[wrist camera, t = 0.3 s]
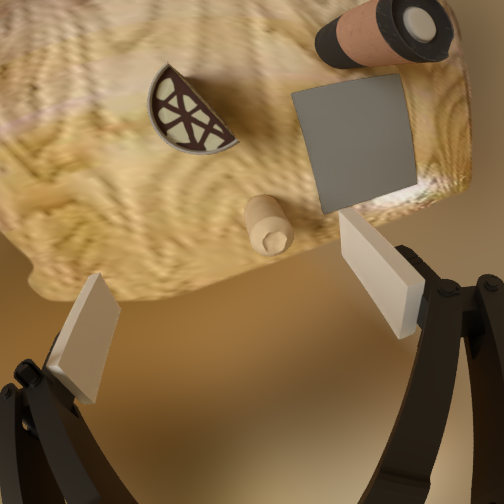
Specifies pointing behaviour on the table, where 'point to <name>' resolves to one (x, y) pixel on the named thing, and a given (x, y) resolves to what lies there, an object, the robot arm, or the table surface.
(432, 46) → the travel mug
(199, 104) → the food container
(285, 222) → the candle
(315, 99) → the mat
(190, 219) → the table surface
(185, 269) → the table surface
